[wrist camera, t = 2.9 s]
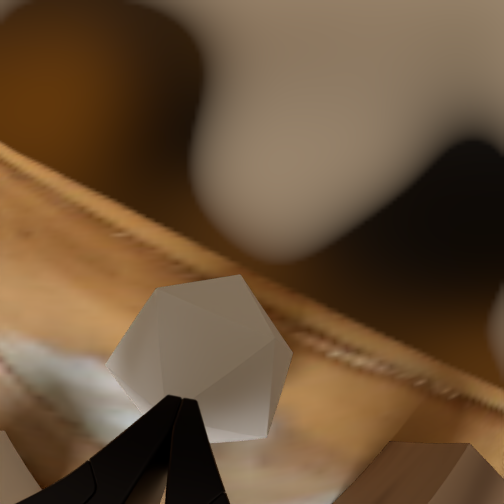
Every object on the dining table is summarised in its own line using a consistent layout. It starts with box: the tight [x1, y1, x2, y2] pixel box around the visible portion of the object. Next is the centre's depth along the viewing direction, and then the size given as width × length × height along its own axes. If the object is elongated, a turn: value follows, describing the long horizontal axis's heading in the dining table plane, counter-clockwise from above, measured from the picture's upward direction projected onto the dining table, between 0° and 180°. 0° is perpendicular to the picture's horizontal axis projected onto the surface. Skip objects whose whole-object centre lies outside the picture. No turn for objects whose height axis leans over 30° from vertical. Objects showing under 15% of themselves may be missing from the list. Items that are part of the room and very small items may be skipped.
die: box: [105, 274, 293, 443], centre depth 15 cm, size 8×9×10 cm
